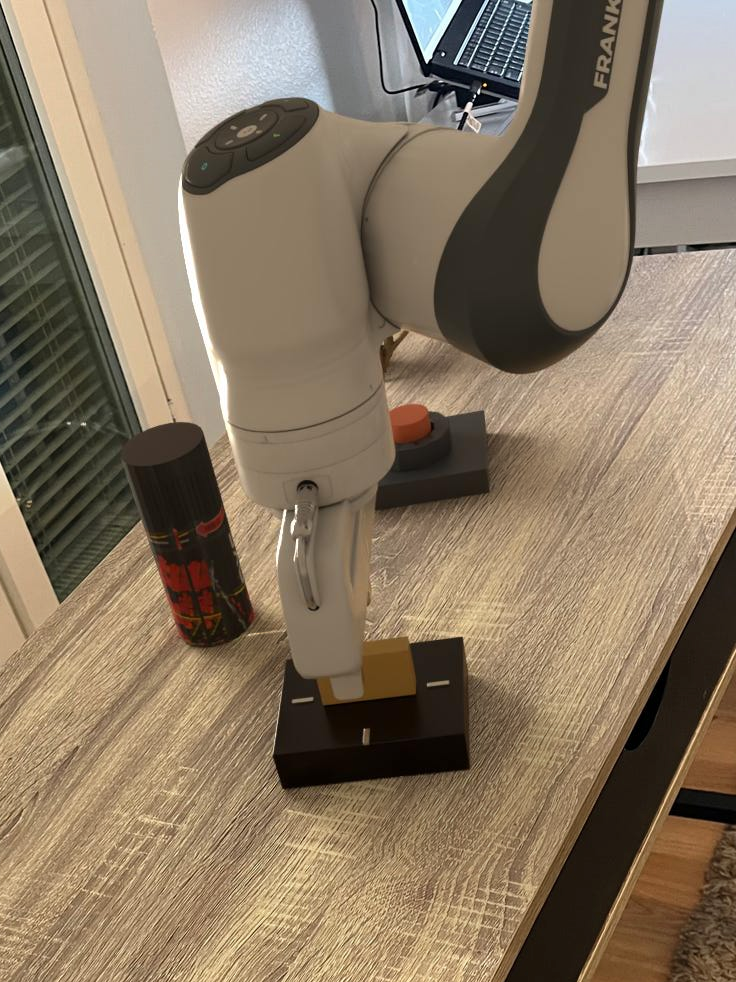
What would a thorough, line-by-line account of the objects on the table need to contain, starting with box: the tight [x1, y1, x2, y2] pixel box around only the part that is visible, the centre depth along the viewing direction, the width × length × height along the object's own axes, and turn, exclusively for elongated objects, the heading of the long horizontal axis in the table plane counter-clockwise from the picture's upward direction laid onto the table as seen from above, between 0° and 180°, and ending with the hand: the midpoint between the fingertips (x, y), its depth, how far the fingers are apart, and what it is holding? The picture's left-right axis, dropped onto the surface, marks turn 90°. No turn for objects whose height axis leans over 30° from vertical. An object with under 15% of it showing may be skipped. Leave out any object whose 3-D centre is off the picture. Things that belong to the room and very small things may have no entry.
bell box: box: [375, 409, 491, 512], centre depth 106 cm, size 12×10×4 cm
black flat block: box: [271, 636, 471, 790], centre depth 83 cm, size 12×10×3 cm
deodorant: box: [119, 421, 255, 648], centre depth 93 cm, size 6×6×15 cm
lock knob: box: [317, 635, 416, 705], centre depth 81 cm, size 6×2×4 cm, turn 84°
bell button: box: [389, 403, 431, 444], centre depth 104 cm, size 4×4×2 cm
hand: (354, 645), depth 80 cm, fingers open, 8 cm apart
